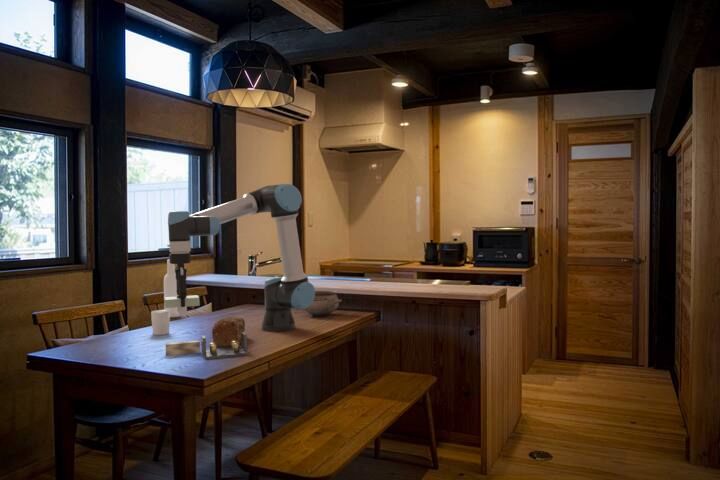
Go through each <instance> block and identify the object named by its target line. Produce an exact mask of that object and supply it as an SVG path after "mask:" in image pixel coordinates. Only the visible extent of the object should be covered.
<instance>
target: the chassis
mask: <svg viewBox="0 0 720 480" xmlns="http://www.w3.org/2000/svg"><path fill="white" fill-rule="evenodd" d="M200 337H201V339H200V341H201V342H200V347H201V354H202V356H203V358H204V360H205V361H206V360H207V361H208V360H214V359H215V360H217V359H224V358H237V357H245V356H249V353H248V336H247V333H245V331H244V332H241V345H240V343H237V341H232V346H229V347H222V348H221V347H219V348H217V347H218V346H217V345H215V343H213V342H209V349H207V338H206V337H205V334H204V335H201V336H200Z"/></svg>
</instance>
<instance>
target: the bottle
mask: <svg viewBox="0 0 720 480" xmlns="http://www.w3.org/2000/svg"><path fill="white" fill-rule="evenodd" d="M166 261H167V262H166V264H167V265H166V267H167V273H165V275H164V277H163V298H164V297H177V292H176V291H177V283H176V273H175V268H176V266H175V265H176V264H171V263H170V258H168V259H167V260H166ZM163 310H170V318H178V317H180V316H179V313H178V309H177V307H175V308H165V306H164V309H163Z"/></svg>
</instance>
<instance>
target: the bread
mask: <svg viewBox="0 0 720 480" xmlns="http://www.w3.org/2000/svg"><path fill="white" fill-rule="evenodd" d="M245 323H246V322H245V319H244V318H243V317H237V316H228V317H223V318H220V319H219V320H217V321H216V322H214V325H213V326H212V329H211V330H212V332H211V333H212V343H215V345H217V347H232V341H237V343H239V344H240V343H242V341H241V332H245V330H246V329H245V328H246V327H245V325H246V324H245Z"/></svg>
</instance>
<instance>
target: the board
mask: <svg viewBox="0 0 720 480" xmlns="http://www.w3.org/2000/svg"><path fill="white" fill-rule="evenodd" d="M186 300H187V308H188V307H198V306H199V307H200V301H201V300H200V296H199V295H197V294H196V295H195V294H194V295H192V294H191V295H187V297H186ZM163 305H164V306H165V308H175V307H179V298H177V297H164V296H163Z"/></svg>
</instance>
